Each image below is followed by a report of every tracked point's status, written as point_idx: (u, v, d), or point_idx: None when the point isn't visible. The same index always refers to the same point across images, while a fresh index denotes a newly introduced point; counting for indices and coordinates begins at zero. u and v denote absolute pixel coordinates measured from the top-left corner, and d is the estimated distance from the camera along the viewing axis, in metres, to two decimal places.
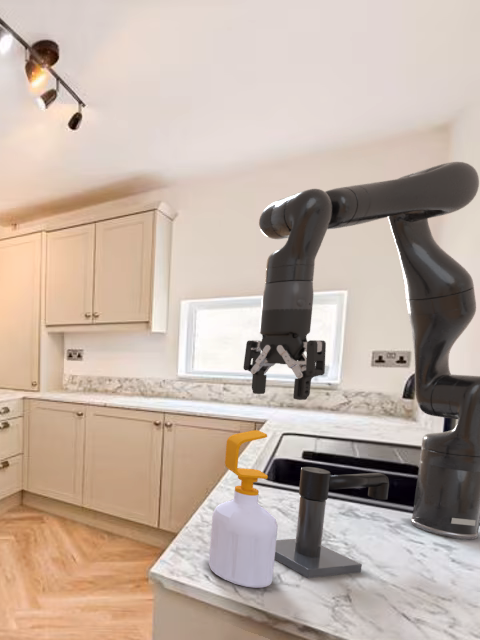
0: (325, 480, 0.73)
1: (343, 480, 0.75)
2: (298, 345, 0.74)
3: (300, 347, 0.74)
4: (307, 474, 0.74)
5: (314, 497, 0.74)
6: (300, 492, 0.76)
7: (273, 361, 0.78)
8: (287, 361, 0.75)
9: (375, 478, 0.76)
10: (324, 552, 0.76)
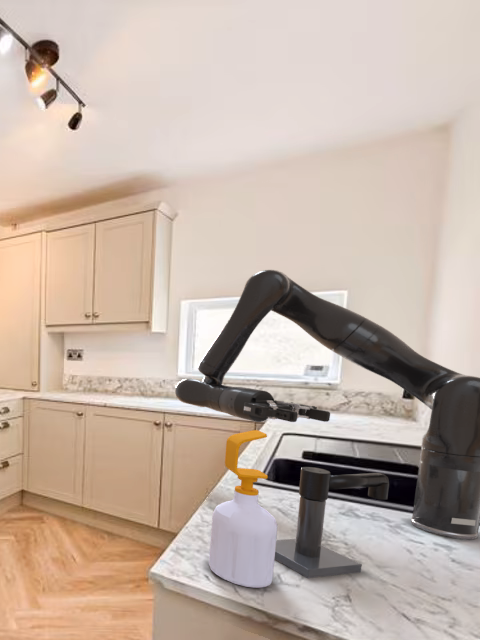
0: (325, 480, 0.73)
1: (343, 480, 0.75)
2: None
3: None
4: (307, 474, 0.74)
5: (314, 497, 0.74)
6: (300, 492, 0.76)
7: None
8: (270, 418, 0.94)
9: (375, 478, 0.76)
10: (324, 552, 0.76)
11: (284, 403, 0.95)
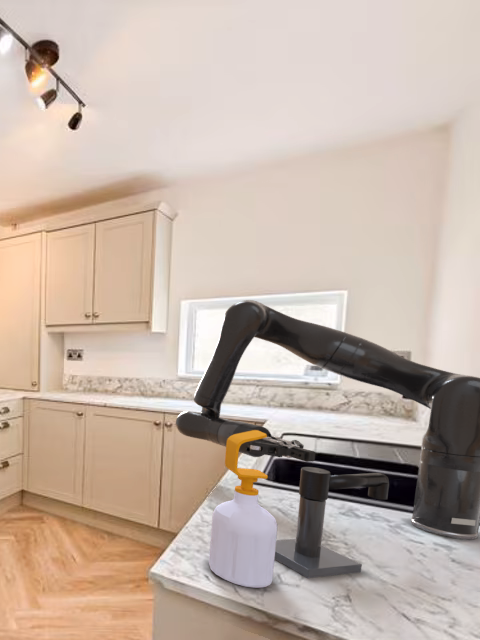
0: (325, 480, 0.73)
1: (343, 480, 0.75)
2: None
3: None
4: (307, 474, 0.74)
5: (314, 497, 0.74)
6: (300, 492, 0.76)
7: None
8: None
9: (375, 478, 0.76)
10: (324, 552, 0.76)
11: (276, 439, 0.96)
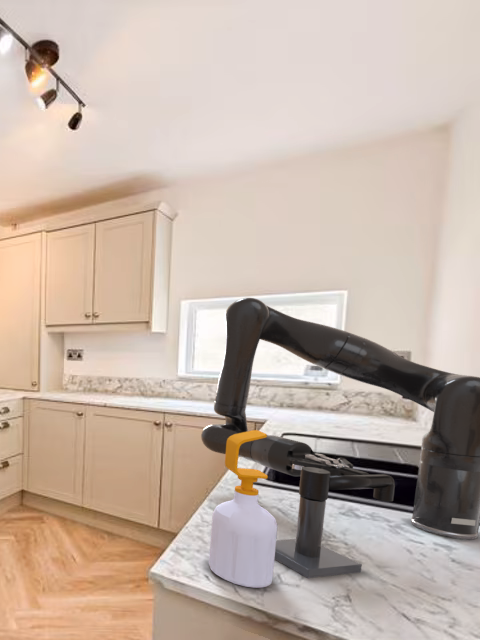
0: (325, 480, 0.73)
1: (344, 480, 0.75)
2: None
3: None
4: (306, 474, 0.74)
5: (313, 497, 0.74)
6: (300, 492, 0.76)
7: None
8: None
9: (379, 479, 0.76)
10: (324, 552, 0.76)
11: (321, 458, 0.86)
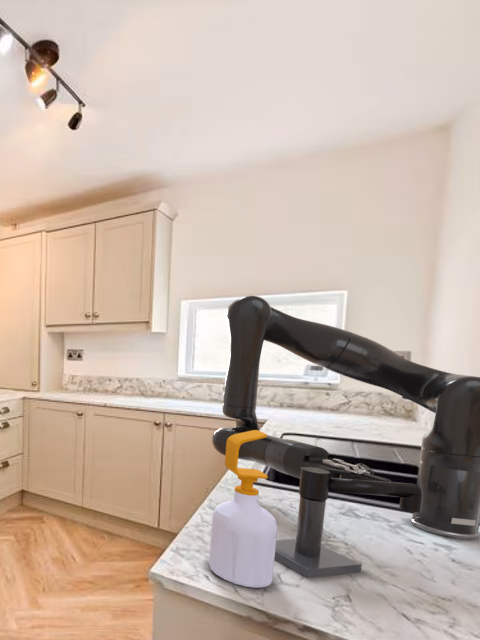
0: (321, 480, 0.73)
1: (350, 483, 0.73)
2: None
3: None
4: (303, 473, 0.75)
5: (308, 496, 0.74)
6: (299, 491, 0.76)
7: None
8: None
9: (400, 487, 0.71)
10: (324, 552, 0.76)
11: (339, 463, 0.83)
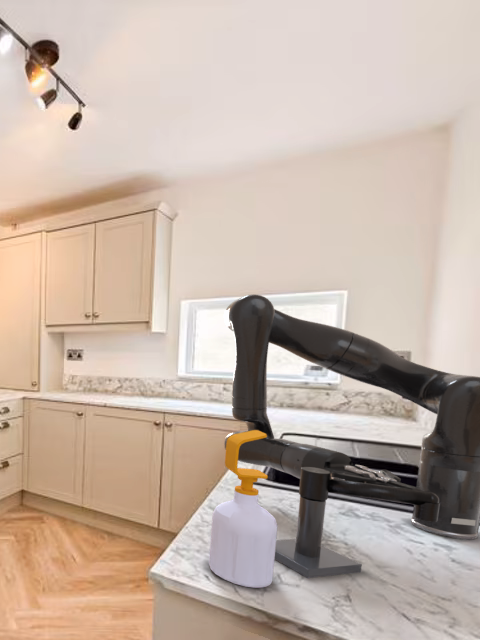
0: (317, 479, 0.73)
1: (352, 486, 0.72)
2: None
3: None
4: (301, 472, 0.76)
5: (305, 495, 0.75)
6: None
7: None
8: None
9: (410, 494, 0.68)
10: (324, 552, 0.76)
11: (362, 470, 0.79)
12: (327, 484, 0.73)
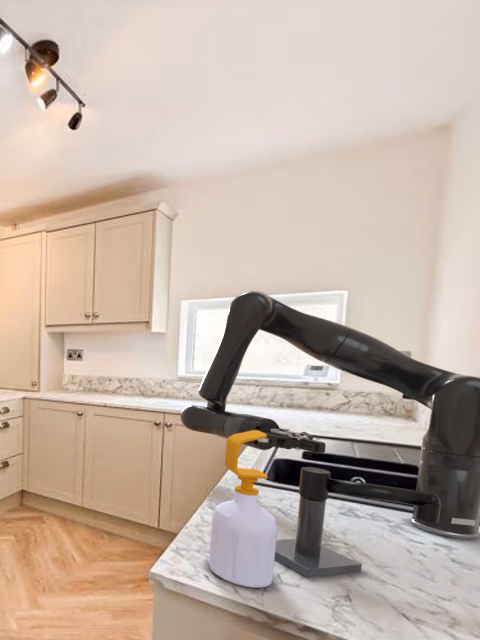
0: (316, 479, 0.73)
1: (352, 486, 0.72)
2: None
3: None
4: (301, 472, 0.76)
5: (304, 495, 0.75)
6: None
7: None
8: None
9: (411, 494, 0.68)
10: (324, 552, 0.76)
11: (285, 431, 0.94)
12: (327, 484, 0.73)
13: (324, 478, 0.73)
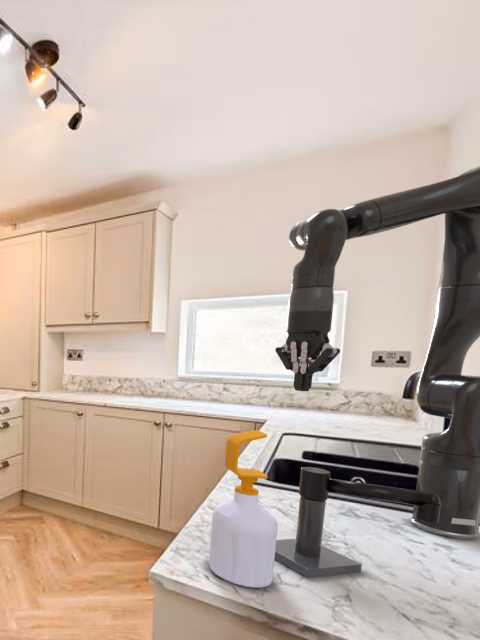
0: (316, 479, 0.73)
1: (352, 486, 0.72)
2: (321, 341, 0.87)
3: (322, 343, 0.87)
4: (301, 472, 0.76)
5: (304, 495, 0.75)
6: None
7: (298, 355, 0.91)
8: (302, 356, 0.90)
9: (411, 494, 0.68)
10: (324, 552, 0.76)
11: None
12: (327, 484, 0.73)
13: (324, 478, 0.73)
